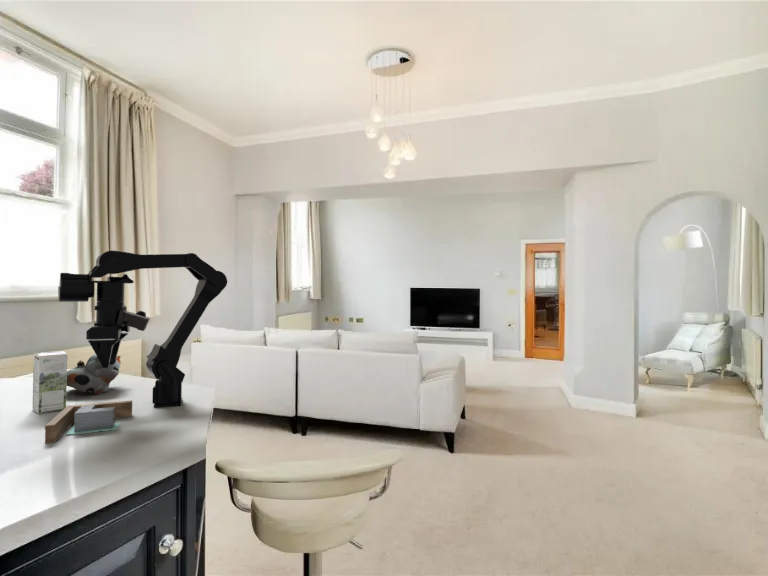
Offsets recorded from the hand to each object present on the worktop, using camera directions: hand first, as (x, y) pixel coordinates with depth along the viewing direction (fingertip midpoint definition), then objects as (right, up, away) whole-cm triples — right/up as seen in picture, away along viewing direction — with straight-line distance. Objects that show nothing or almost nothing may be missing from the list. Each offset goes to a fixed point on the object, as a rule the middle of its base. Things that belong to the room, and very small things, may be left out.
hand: (109, 364), depth 104 cm
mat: (+4, -12, -10) cm, 16 cm away
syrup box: (-16, -12, +2) cm, 20 cm away
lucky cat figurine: (-19, -12, +21) cm, 31 cm away
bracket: (+4, -12, -10) cm, 16 cm away
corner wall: (+4, -12, -11) cm, 17 cm away
